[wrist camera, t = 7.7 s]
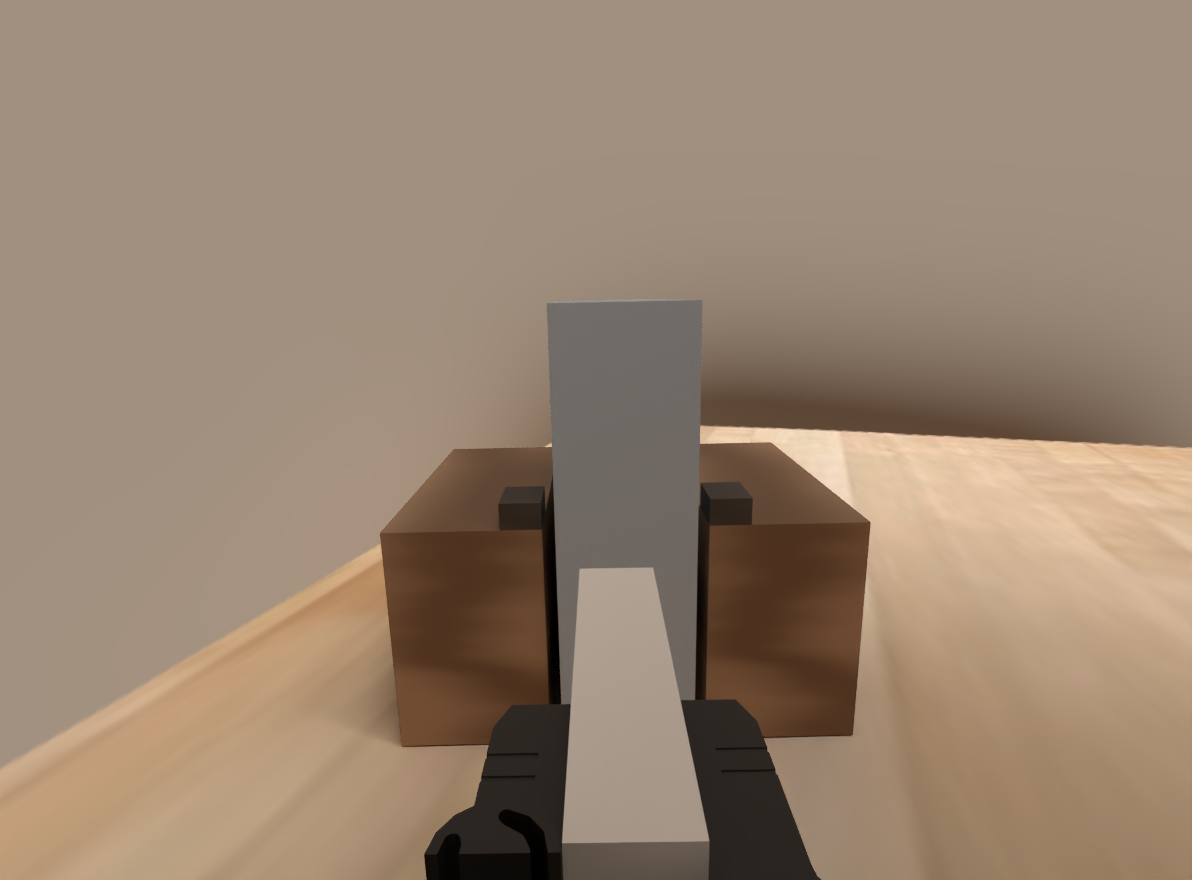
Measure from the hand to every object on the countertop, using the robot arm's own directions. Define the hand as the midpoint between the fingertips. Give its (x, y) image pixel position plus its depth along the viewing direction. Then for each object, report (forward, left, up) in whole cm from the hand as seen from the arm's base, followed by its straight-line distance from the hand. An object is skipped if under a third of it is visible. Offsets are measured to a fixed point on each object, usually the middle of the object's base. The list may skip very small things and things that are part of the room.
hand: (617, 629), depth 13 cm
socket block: (-1, -10, -7) cm, 12 cm away
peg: (-1, -9, -6) cm, 11 cm away
